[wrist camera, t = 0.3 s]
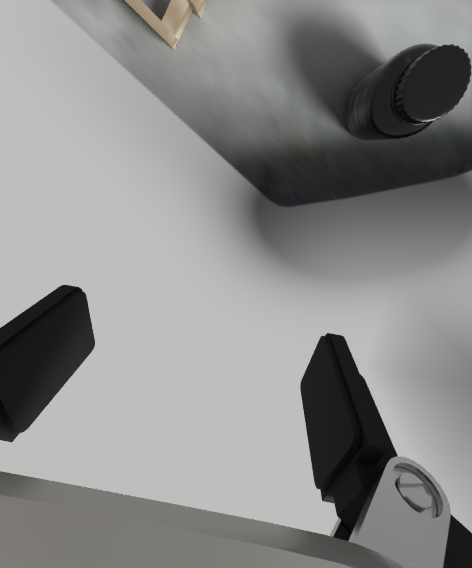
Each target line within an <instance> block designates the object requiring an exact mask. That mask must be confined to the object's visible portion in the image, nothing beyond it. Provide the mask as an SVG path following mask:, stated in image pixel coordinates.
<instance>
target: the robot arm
mask: <svg viewBox="0 0 472 568" xmlns="http://www.w3.org/2000/svg"><path fill="white" fill-rule="evenodd" d="M94 346H95V340H94V334H93V329H92V324H91V319H90V313H89V308H88V303H87V298H86V294H85V293H84V292H83V291H82V289H81V288H79V287H74V286H69V285H62V286H60V287H58V288H57V289H56V290H54V291H53V292H51V293H50V294H49V295H47V296H46V297H44V298H43V299H41V300H40V301H38V302H37V303H36V304H34V305H33V306H32V307H30V308H29V309H27V310H26V311H24V312H23V313H21V314H20V315H18V316H17V317H16V318H14V319H13V320H11V321H10V322H8V323H7V324H6V325H4V326H3V327H1V328H0V440H3V441H9V442H13V440H14V439H15V438H16V437H17V436H18V434H19V433H22V432H24V431H25V430H26V429H28V428H29V427H30V425H31V424H32V423H33V422H34V421H35V419H36V418H37V417H38V416H39V414H40V413H41V412H42V411H43V410H44V408H45V407H46V406H47V405H48V404H49V402H50V401H51V400H52V399H53V397H54V396H55V395H56V394H57V393H58V392H59V390H60V389H61V388H62V387H63V386H64V384H65V383H66V382H67V381H68V379H69V378H70V377H71V376H72V375H73V373H74V372H75V371H76V370H77V369H78V367H79V366H80V365H81V364H82V363H83V361H84V360H85V359H86V358H87V357H88V355H89V354H90V353H91V352H92V350H93V348H94ZM301 396H302V402H303V409H304V415H305V422H306V428H307V435H308V442H309V449H310V455H311V462H312V469H313V475H314V481H315V485H316V487H317V489H320V490H321V496H322V501H326V502H331V503H335V508H336V512H337V516H338V517H339V518H338V520H337V522H336V524H335V526H334V528H333V530H332V533H331V534H330V536H327V535H323V534H318V533H313V532H309V531H304V530H300V529H295V528H291V527H286V526H281V525H277V524H272V523H268V522H262V521H257V520H252V519H247V518H242V517H237V516H232V515H227V514H222V513H217V512H211V511H206V510H201V509H196V508H191V507H185V506H181V505H176V504H171V503H165V502H159V501H154V500H149V499H144V498H139V497H134V496H129V495H123V494H118V493H113V492H108V491H102V490H97V489H92V488H87V487H81V486H76V485H71V484H65V483H60V482H55V481H49V480H44V479H38V478H33V477H27V476H22V475H17V474H11V473H6V472H0V568H472V533H471V532H470V531H468V529H466V528H465V527H464V526H463V525H462V524H461V523H460V522H459V521H457V520H456V519H455V518H454V517H453V516H452V515H451V514H450V505H449V502H448V500H447V497H446V495H445V493H444V491H443V490H442V488H441V486H440V485H439V483H438V482H437V481H436V480H435V478H434V477H433V476H432V475H431V474H430V473H429V472H428V471H427V470H426V469H425V468H423V467H422V466H421V465H419V464H418V463H416V462H415V461H413V460H410V459H408V458H405V457H398V456H397V453H396V451H395V449H394V447H393V444H392V442H391V440H390V437H389V435H388V433H387V430H386V428H385V426H384V423H383V421H382V419H381V416H380V414H379V412H378V409H377V407H376V405H375V402H374V400H373V398H372V396H371V393H370V391H369V388H368V386H367V384H366V381H365V379H364V378H363V377H362V376H361V375H360V374H359V371H358V369H357V367H356V364H355V362H354V359H353V357H352V354H351V352H350V350H349V347H348V345H347V342H346V341H345V339H344V337H343V336H341V335H335V334H330V333H327V334H326V335H325V336H321V338H320V340H319V342H318V344H317V346H316V349H315V351H314V354H313V356H312V358H311V360H310V363H309V365H308V367H307V369H306V371H305V374H304V376H303V378H302V381H301Z"/></svg>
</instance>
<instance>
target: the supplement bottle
mask: <svg viewBox="0 0 472 568" xmlns="http://www.w3.org/2000/svg"><path fill="white" fill-rule="evenodd" d="M470 76H471V64H470V59H469V58H468V54H467V53H465V51H464V49H460V47H459V46H454V45H453V44H451V45H443V46H436V45H433V44H419V45H414V46H411V47H409V48H407V49H405V50H403V51H401V52H400V53H398V54H397V55H395V56H394V57H392V58H391V59H389V60H388V61H386V62H385V63H383V64H382V65H380V66H379V67H377V68H376V69H374V70H373V71H371V72H370V73H369V74H367V75H366V76H364V77H363V78H362V79H361V80H360V81H359V82H358V83H357V84H356V85H355V87H354V88H353V90H352V91H351V93H350V95H349V97H348V100H347V103H346V107H345V121H346V125H347V127H348V129H349V131H350V132H351V133H352V134H353V135H354V136H355V137H357V138H359V139H362V140H385V139H400V138H406V137H409V136H412V135H415V134H417V133H419V132H420V131H422V130H424V129H425V128H426V127H428V126H429V125H430V124H431V123H432V122H433V121H434V120H436V119H440V118H441V117H442V116H444V115H446V114H447V113H448V112H449V111H451V110H452V109H453V108H454V106H455V105H457V104H458V103H459V100H460V99H461V98H462V97H463V95H464V92H465V91H466V90H467V85H468V84H469V82H470Z"/></svg>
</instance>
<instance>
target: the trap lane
mask: <svg viewBox="0 0 472 568" xmlns="http://www.w3.org/2000/svg"><path fill="white" fill-rule="evenodd" d="M125 1H126V2H127V3H128V4H129V5H130V6H131V7H132V8H133V9H134V10H135V11H136V12H137V13H138V14H139V15H140V16H141V17H142V18H143V19H144V20H145V21H146V22H147V23H148V24H149V25H150V26H151V27H152V28H153V29H154V30H155V31H156V32H157V33H158V34H159V35H160V36H161V37H162V38H163V39H164V40H165V41H166V42H167V43H168V44H169V45H170V46H171V47H172V48H173V49H174V48H175V46H176V44H177V42H178V40H179V38H180V36H181V34H182V32H183V30H184V28H185V26H186V24H187V22H188V20H189V18H190V16H191V14H192V12H193V11H194V12H195V13H196V14H197V15H198V16H199V17H200V18H201V17H202V15H203V13H204V11H205V9H206V7H205V5H204V2H203V0H125Z"/></svg>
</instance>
